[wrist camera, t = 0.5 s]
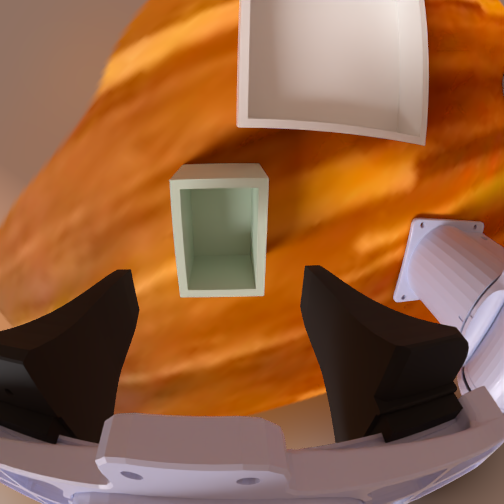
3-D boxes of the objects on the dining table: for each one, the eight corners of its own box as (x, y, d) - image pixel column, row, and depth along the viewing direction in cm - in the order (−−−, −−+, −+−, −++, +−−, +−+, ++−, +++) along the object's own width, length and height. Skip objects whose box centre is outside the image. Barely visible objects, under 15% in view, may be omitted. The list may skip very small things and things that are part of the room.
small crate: (183, 164, 19) (169, 180, 14) (258, 163, 19) (268, 178, 15) (188, 258, 22) (180, 297, 17) (256, 257, 22) (263, 295, 18)
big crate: (398, -1, 14) (422, -12, 11) (398, 139, 19) (425, 145, 16) (240, -29, 13) (243, -52, 10) (236, 125, 18) (238, 127, 15)
